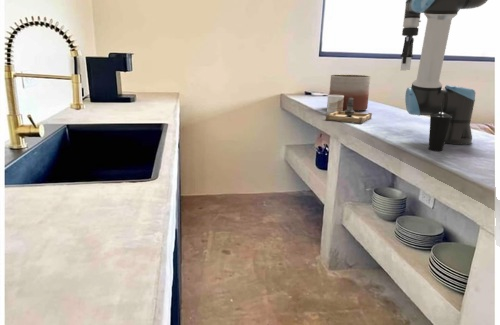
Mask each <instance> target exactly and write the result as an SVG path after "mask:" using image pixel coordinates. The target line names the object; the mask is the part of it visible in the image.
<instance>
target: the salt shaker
mask: <svg viewBox="0 0 500 325" xmlns="http://www.w3.org/2000/svg"><path fill="white" fill-rule="evenodd" d="M344 112H345V115H347V116H345V117H352V115H354V113H356V112H355V111H353V98H351V97H350V98H349V99H348V104H347V110H346V111H344ZM352 118H354V117H352Z"/></svg>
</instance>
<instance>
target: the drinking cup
mask: <svg viewBox="0 0 500 325" xmlns="http://www.w3.org/2000/svg"><path fill="white" fill-rule="evenodd" d="M444 100H445V99H444V98H443V100H442V106H441V112H435V113H433V114H430V116H429V117H430V119H429V133H428V134H429V136H428V137H429V138H428V150H429V151H433V152H442V151H443V149H444V145H445V143H444V142H445V138H446V135H447V131H448V127H449V124H450V120H451V118H452V116H451V115H449V114H447V113H445V112H443V106H444Z"/></svg>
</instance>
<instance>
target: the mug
mask: <svg viewBox="0 0 500 325" xmlns="http://www.w3.org/2000/svg"><path fill="white" fill-rule="evenodd" d="M326 103H327V105H326V114H331V113H334V112H336V111H337V110H341V111H343V105H344V96H343V95H329V94H328V95H327V102H326Z"/></svg>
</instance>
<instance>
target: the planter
mask: <svg viewBox="0 0 500 325" xmlns="http://www.w3.org/2000/svg"><path fill="white" fill-rule="evenodd" d="M329 81H330V83H329V92H328V95H343V96H344V105H343V111H344V112H345V111H346V110H347V104H348V99H349V98H350V97H351V98H353V111H355V112H354V113H360V112H363V111H365V110H367V109H368V105H369V95H370V93H369V92H370V84H371V83H370V82H371V76H370V75H366V74H363V75H361V74H331V75H330V80H329Z"/></svg>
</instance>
